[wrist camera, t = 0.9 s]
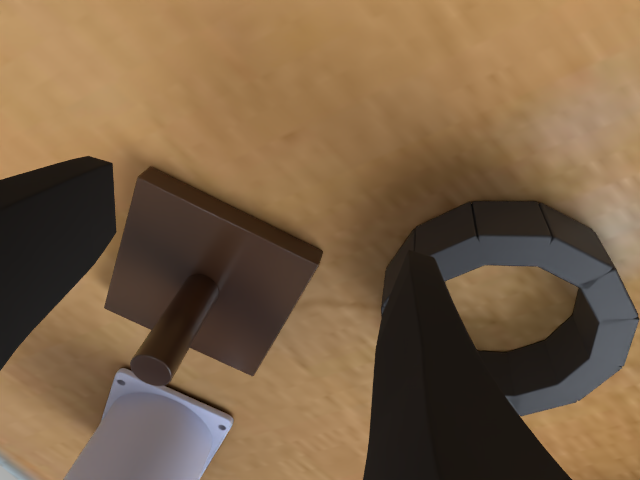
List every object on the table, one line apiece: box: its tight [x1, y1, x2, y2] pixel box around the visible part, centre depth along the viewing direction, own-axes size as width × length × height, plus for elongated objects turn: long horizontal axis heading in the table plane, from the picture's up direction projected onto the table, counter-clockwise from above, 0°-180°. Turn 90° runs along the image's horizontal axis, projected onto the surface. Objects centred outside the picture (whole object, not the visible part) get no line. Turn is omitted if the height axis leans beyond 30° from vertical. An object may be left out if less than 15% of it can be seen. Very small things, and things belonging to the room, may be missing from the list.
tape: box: [381, 201, 639, 416], centre depth 22 cm, size 10×10×3 cm
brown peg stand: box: [104, 167, 323, 386], centre depth 23 cm, size 9×9×7 cm
